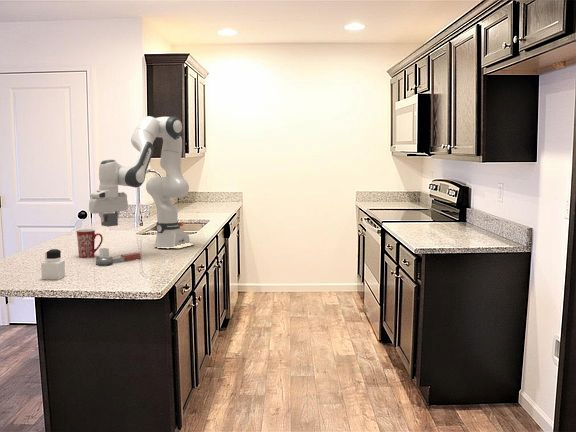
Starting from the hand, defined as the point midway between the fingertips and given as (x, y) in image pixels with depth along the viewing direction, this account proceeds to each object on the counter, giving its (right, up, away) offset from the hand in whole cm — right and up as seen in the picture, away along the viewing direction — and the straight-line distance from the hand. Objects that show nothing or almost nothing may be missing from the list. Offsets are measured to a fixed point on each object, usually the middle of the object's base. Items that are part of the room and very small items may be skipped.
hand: (109, 221), depth 275 cm
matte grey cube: (0, -2, 0) cm, 2 cm away
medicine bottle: (-11, -24, -40) cm, 48 cm away
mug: (-12, -18, +6) cm, 22 cm away
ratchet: (+6, -20, -6) cm, 21 cm away
